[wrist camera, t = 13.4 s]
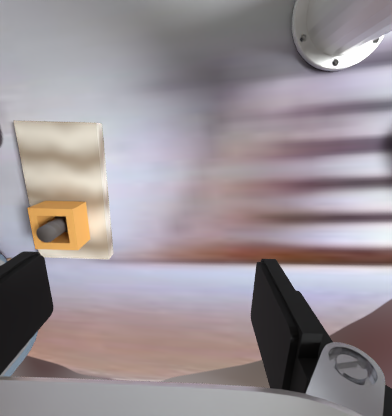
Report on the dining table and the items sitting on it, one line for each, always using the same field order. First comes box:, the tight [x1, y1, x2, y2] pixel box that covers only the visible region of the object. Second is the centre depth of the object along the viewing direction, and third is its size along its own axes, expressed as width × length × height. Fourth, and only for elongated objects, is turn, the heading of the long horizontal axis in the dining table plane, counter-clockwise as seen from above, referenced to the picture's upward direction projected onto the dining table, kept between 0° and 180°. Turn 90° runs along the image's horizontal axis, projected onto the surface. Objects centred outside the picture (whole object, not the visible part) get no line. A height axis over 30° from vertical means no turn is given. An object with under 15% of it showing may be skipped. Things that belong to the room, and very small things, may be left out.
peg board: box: [14, 121, 113, 259], centre depth 34 cm, size 22×12×8 cm, turn 179°
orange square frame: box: [27, 201, 90, 250], centre depth 35 cm, size 6×6×4 cm
